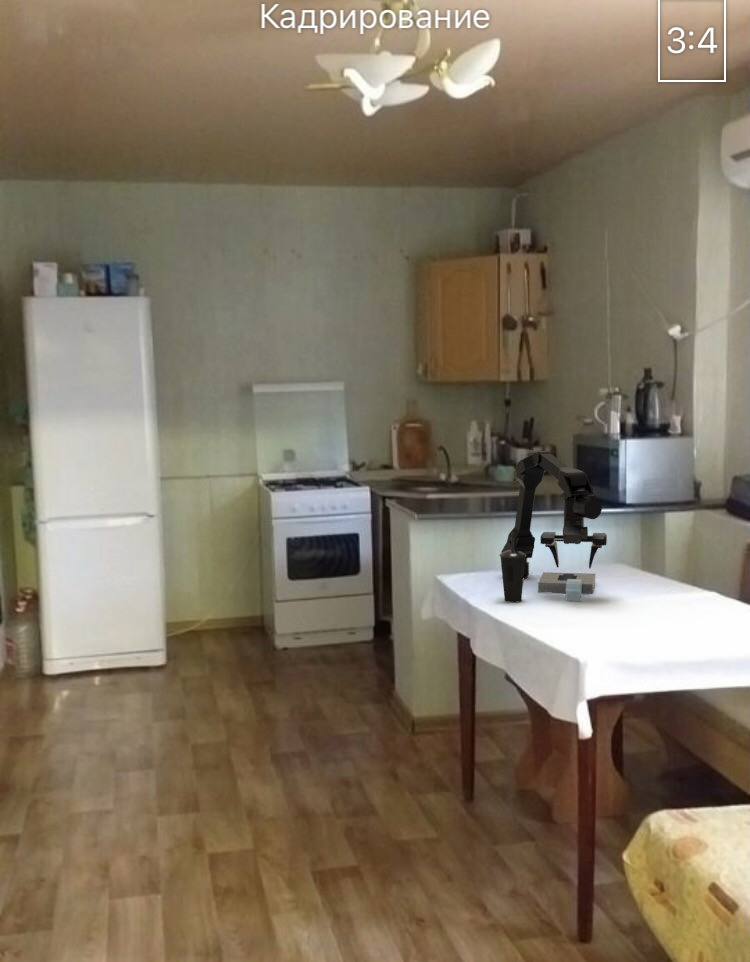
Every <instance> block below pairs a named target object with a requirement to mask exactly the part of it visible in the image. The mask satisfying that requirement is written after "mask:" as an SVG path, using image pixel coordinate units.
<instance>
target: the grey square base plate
mask: <svg viewBox="0 0 750 962" xmlns="http://www.w3.org/2000/svg"><path fill="white" fill-rule="evenodd" d="M568 579H579V580H582V595H593V594H594V590H595V585H596V573H583V572H581V573H579V572H549V571H547V572H546V571H544V572H542V574H541V576H540V578H539V580H538V583H537V593H541V592H552V593H551V594H566V583H567V580H568Z"/></svg>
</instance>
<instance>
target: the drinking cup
mask: <svg viewBox="0 0 750 962" xmlns="http://www.w3.org/2000/svg"><path fill="white" fill-rule="evenodd" d="M511 542H512V550H508V551H505V552H503V553H501V552H500V553H499V558H500V565H501V574H502V575H501V577H502V586H503V587H502V588H503V595H504V601H505V602H507V603H520V602H522V598H523V587H524V579H523V576H524V564H525V557H526V554H525V553H523V552H521V551H518V550H514V532H512V533H511Z"/></svg>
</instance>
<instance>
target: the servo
mask: <svg viewBox="0 0 750 962" xmlns="http://www.w3.org/2000/svg"><path fill="white" fill-rule="evenodd" d="M582 595H583V594H582V580H579V579H568V580H567V583H566V593H565V600H566V601H570V600H572V601H574V602H576V601H577V602H581V600H582V597H581V596H582Z"/></svg>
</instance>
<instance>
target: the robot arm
mask: <svg viewBox="0 0 750 962" xmlns="http://www.w3.org/2000/svg"><path fill="white" fill-rule="evenodd" d="M515 471H516V475H515V477H516V479H517V481H518V483H519V492H518V493H519V494H518V501H517V508H516V515H515V522H514V527H513V528H512V529H511V530H510V532H509V534H508V535H507V540H506V543H505V544H504V546H503V548H502V550H501V552H500V554H501V553H503V552H505V551H508V550H512V542H511V533H512V532H514V550H518V551H521V552H523V553H525V554H526V557H525V564H524V576H523V580H524V579H527V578H528V577H529V576H530V561H528V559H532V558H533V554H534V549H535V541H536V538H535V536H534V535H533V533H532V531H531V526H532V519H533V511H534V503H535V496H536V489H537V487H538V486H539V485H540V484H541V482H542V481H543V480H544V479H543V478H544V475H545V473H546V472H547V473H548V474H550V475H551V476H553V478H555V479H556V480H557V486H558V487H559V488H560V489H561V490H562V492H563V493H561V495H560V498H561V499H563V527H562V534H557V532H556V531H543V532H542V533H541V534H540V545H545V546H544V547H545V548H549V550H550V552H551V554H552V557H553V560H554V564H555V566H556V568H559V566H560V565H559V562H560V561H559V551H558V542H563V544H565V545H569V544H574V545H580V544H581V543H591V547H590V554H589V560H588V561H589V562H588V568H589V569H591V568H592V564H593V562H594V558H595V556H596V553H597V551H598V550H599V549H602V547H603V546H607V543H608V535H607V534H606V533H605V532H593V533H592V535H589V533H588V532H589V529H588V526H585V524H584V522H585V521H584V520H585V519H588V520H596V519H597V518H598V517H600V516H601V513H602V510H603V508H602V505H601V503H600V501H599V500H598V499H596V494H594V489H593V487H592V485H591V482H590V480H589V478H588V475H587V474H586V473H585V472H584V471H582V470H580V469H578V468H573V467H570V466H567V465H566V464H565V463H564V462H562V461H561V460H560V459H558V458H557V457H556V456H555V455H553V453H552V451H548V450H543V451H540V450H539V451H536V452H533V454H532V455H529V456H527V457H525V458H523V459H520V460H519V461H517V464H516V467H515Z"/></svg>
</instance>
